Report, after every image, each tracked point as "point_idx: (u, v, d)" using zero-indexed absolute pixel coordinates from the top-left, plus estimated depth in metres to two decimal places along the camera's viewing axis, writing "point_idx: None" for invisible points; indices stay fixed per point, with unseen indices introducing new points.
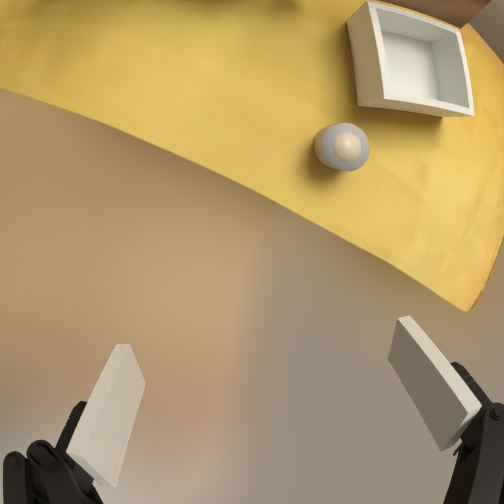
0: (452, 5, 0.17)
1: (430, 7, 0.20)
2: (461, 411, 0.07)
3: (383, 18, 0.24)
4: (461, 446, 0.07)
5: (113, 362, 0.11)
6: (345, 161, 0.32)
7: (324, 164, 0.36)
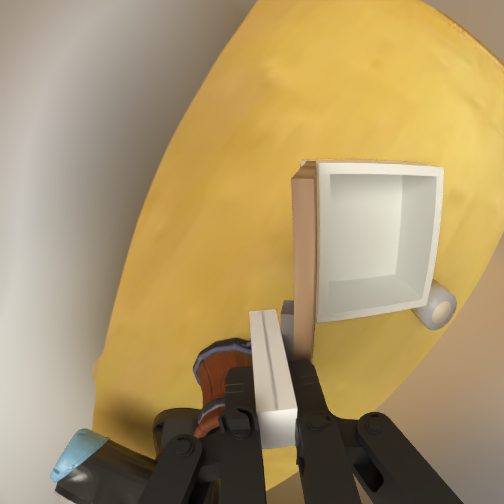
0: None
1: None
2: None
3: None
4: (297, 457, 0.08)
5: (257, 326, 0.13)
6: (449, 312, 0.33)
7: None
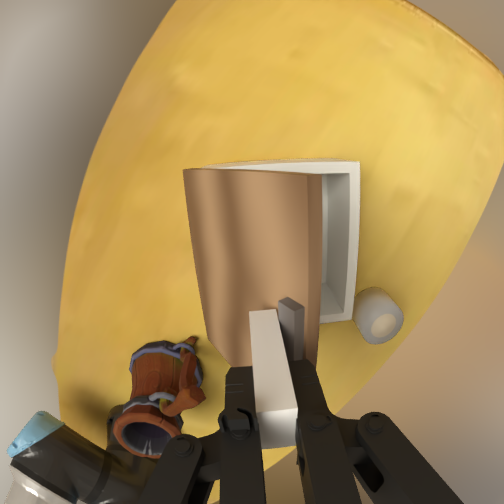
0: None
1: None
2: None
3: None
4: (297, 457, 0.08)
5: (256, 326, 0.13)
6: (395, 325, 0.33)
7: None
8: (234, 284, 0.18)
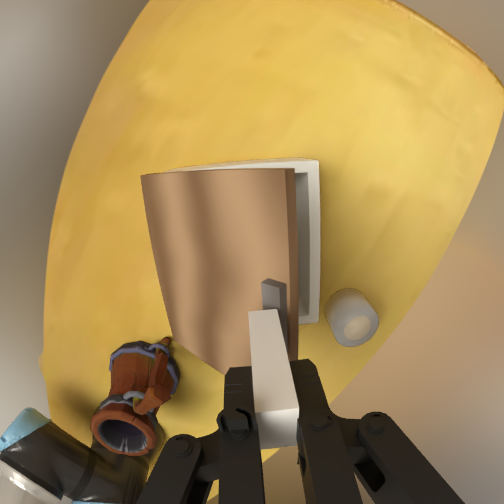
0: None
1: None
2: None
3: None
4: (298, 457, 0.08)
5: (256, 326, 0.13)
6: (370, 328, 0.33)
7: None
8: (206, 278, 0.19)
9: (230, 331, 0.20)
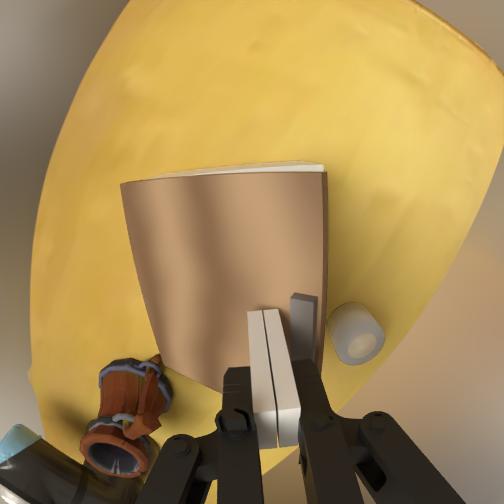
0: None
1: None
2: None
3: None
4: (300, 456, 0.08)
5: (254, 326, 0.13)
6: (375, 345, 0.30)
7: None
8: (210, 297, 0.17)
9: (241, 352, 0.18)
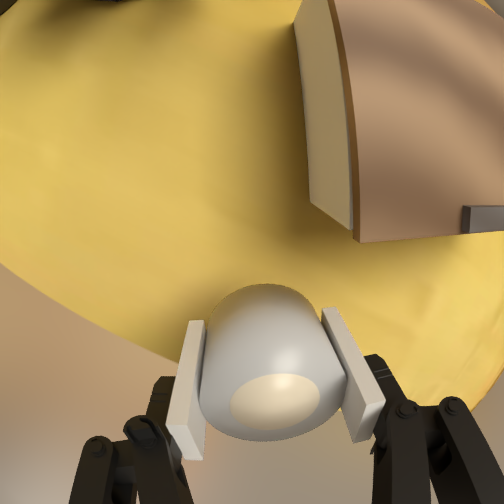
0: None
1: None
2: (363, 402, 0.08)
3: None
4: (375, 446, 0.08)
5: (192, 336, 0.13)
6: (267, 429, 0.11)
7: None
8: (495, 103, 0.09)
9: (457, 125, 0.09)
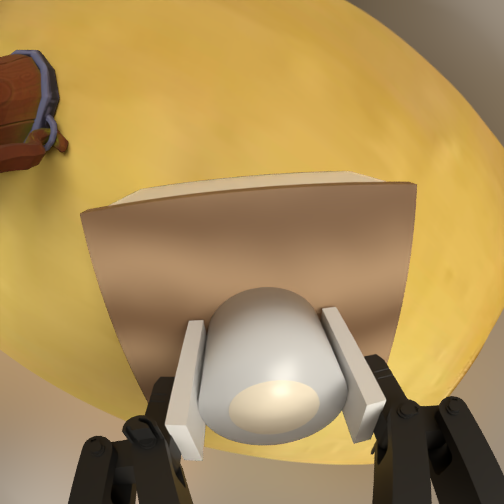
0: None
1: None
2: (363, 403, 0.08)
3: None
4: (375, 446, 0.08)
5: (191, 336, 0.13)
6: (267, 433, 0.11)
7: None
8: None
9: None
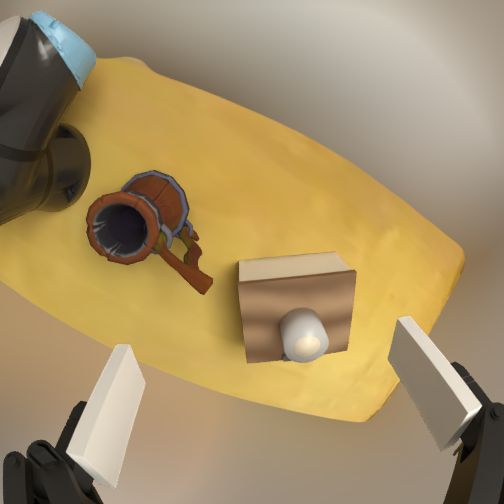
0: None
1: None
2: (461, 411, 0.07)
3: None
4: (461, 446, 0.07)
5: (113, 362, 0.11)
6: (303, 356, 0.36)
7: None
8: None
9: None
